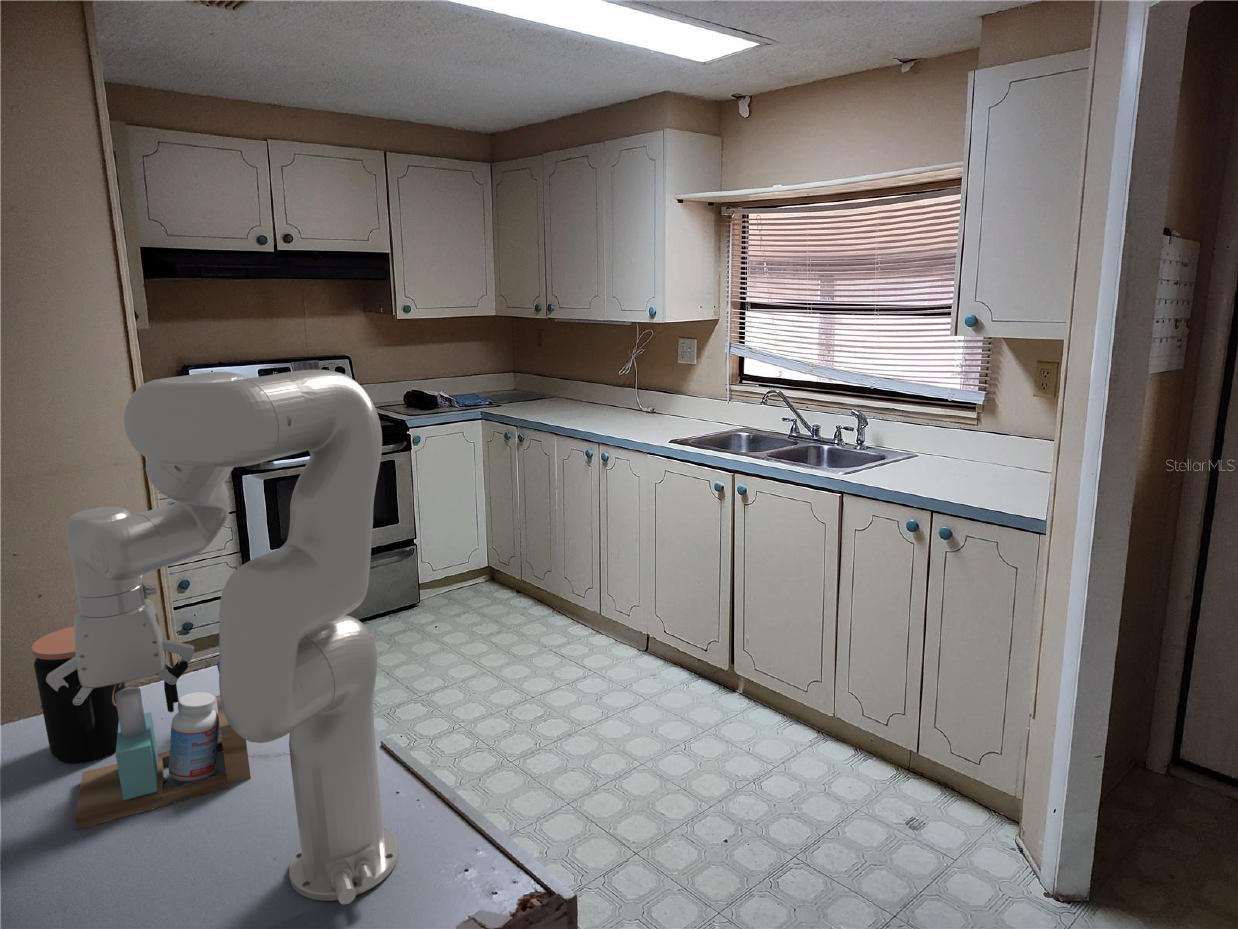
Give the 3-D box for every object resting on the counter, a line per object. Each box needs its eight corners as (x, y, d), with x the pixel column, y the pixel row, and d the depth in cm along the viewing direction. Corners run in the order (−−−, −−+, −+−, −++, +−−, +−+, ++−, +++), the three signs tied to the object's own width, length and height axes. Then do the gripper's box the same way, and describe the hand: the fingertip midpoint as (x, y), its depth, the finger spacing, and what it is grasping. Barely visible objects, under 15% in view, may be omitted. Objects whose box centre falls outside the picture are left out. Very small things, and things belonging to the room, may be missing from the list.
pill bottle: (196, 787, 115) (200, 712, 113) (158, 778, 116) (162, 703, 114) (225, 766, 121) (229, 695, 119) (188, 757, 122) (192, 686, 120)
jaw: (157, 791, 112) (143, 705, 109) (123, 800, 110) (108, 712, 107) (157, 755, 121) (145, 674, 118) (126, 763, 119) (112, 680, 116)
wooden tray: (251, 782, 117) (244, 724, 115) (76, 829, 107) (65, 768, 105) (244, 741, 127) (237, 688, 125) (84, 781, 118) (74, 724, 115)
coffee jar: (136, 751, 125) (118, 641, 121) (52, 775, 119) (30, 661, 115) (130, 721, 134) (113, 617, 129) (51, 742, 128) (31, 634, 124)
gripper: (184, 579, 117) (200, 689, 120) (37, 603, 109) (59, 721, 112) (186, 596, 110) (202, 712, 114) (29, 624, 102) (53, 747, 106)
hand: (131, 716), depth 113 cm, fingers open, 9 cm apart
